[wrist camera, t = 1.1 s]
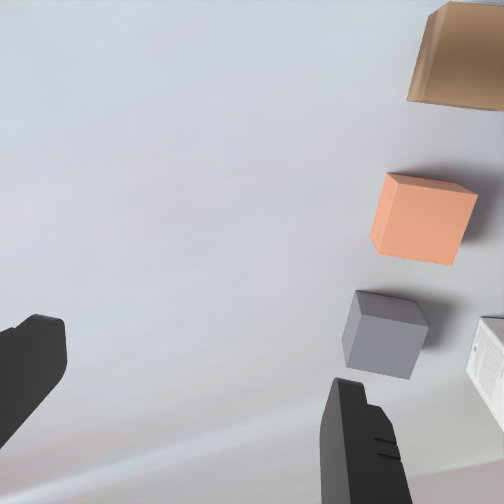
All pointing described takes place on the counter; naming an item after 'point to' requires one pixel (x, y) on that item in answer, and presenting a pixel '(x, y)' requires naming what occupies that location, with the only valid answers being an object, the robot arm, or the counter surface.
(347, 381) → the robot arm
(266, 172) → the counter surface
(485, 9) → the walnut block
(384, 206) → the terracotta block
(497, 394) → the small box
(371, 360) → the grey block
